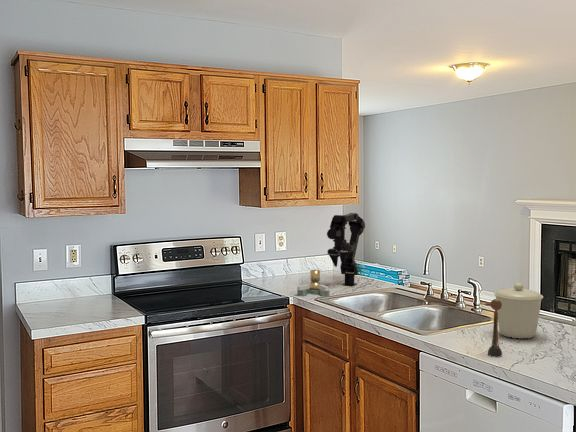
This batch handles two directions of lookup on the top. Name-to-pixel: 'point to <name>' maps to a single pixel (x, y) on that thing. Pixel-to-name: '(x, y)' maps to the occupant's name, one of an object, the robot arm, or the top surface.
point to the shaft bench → (305, 289)
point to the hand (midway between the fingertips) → (339, 265)
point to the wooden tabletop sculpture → (495, 329)
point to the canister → (518, 311)
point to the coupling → (314, 279)
